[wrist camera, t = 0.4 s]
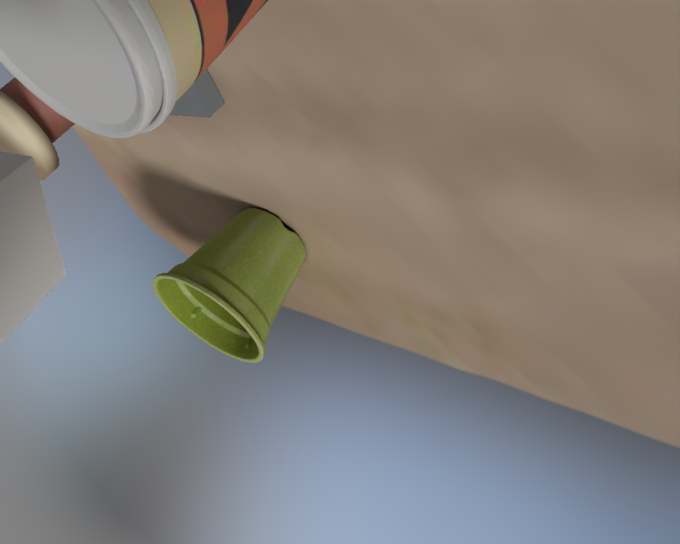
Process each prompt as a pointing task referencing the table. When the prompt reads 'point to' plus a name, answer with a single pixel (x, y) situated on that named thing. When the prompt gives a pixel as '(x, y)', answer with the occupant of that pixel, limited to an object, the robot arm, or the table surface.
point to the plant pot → (235, 284)
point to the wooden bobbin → (30, 127)
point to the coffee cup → (116, 54)
